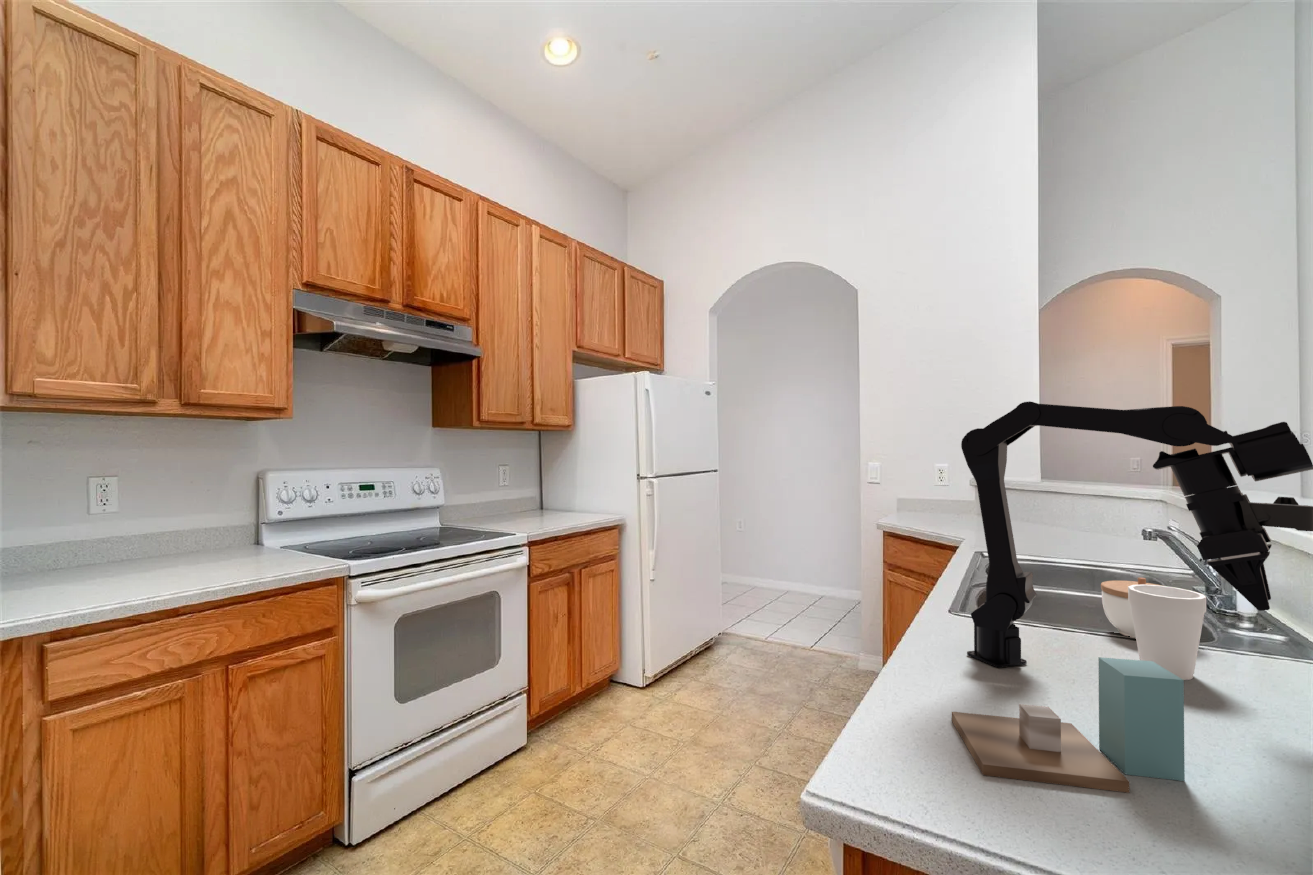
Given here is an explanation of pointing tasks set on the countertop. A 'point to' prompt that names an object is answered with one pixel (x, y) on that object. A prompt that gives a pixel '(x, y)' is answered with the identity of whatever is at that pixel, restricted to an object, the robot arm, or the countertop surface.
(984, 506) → the robot arm
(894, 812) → the countertop surface
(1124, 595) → the lidded bowl
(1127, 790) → the post board
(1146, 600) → the foam cup
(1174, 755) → the teal rectangular prism
